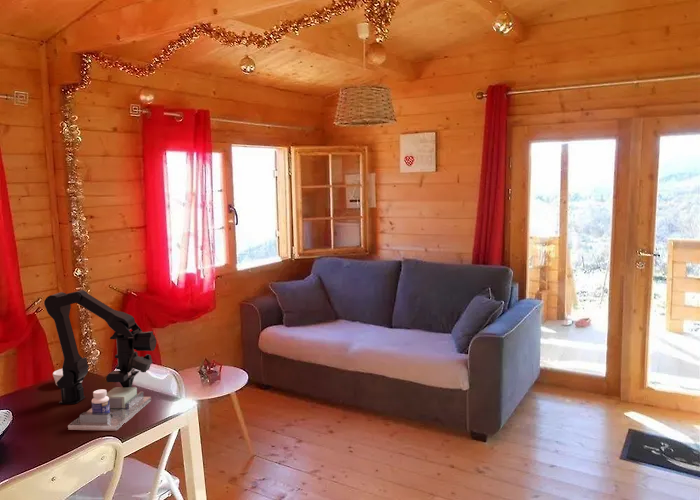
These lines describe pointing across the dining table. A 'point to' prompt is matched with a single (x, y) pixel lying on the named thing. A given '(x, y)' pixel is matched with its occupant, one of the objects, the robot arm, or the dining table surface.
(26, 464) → the dining table surface
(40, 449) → the dining table surface
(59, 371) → the ramekin
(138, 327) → the robot arm
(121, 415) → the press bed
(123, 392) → the block
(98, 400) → the pill bottle
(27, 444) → the dining table surface
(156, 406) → the dining table surface
